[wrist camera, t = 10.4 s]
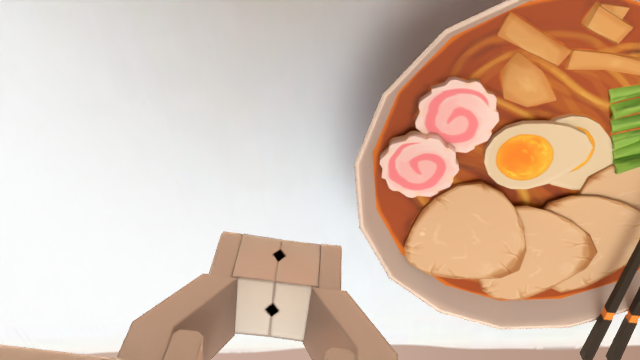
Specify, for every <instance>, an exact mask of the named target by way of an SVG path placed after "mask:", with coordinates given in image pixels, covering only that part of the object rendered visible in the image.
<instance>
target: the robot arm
mask: <svg viewBox="0 0 640 360" xmlns="http://www.w3.org/2000/svg"><path fill="white" fill-rule="evenodd" d="M341 255H342V248H341V246H337V245H328V244H321V245H320V244H314V243H305V242H297V241H289V240H282V239H275V238H268V237H261V236H255V235H248V234H239V233H232V232H225V231H223V233H222V234H221V236H220V240H219V243H218V246H217V249H216V252H215V256H214V259H213V262H212V265H211V268H210V272H209V274H202V275H200V276H199V277H197V278H196V279H194V280H193V281H191V282H190V283H189V284H187V285H186V286H184V287H183V288H181V289H180V290H178V291H177V292H175V293H174V294H172V295H171V296H170V297H168V298H167V299H165V300H164V301H162V302H161V303H159V304H158V305H156V306H155V307H153V308H152V309H151V310H149V311H148V312H146V313H145V314H143V315H142V316H140V317H139V318H137V319H136V320H134V321H133V322H132V324H131V326H130V328H129V331H128V333H127V335H126V338H125V340H124V342H123V344H122V347H121V349H120V351H119V353H118V356H117V358H110V357H101V356H93V355H85V354H76V353H68V352H59V351H51V350H42V349H34V348H25V347H17V346H8V345H0V360H210V359H212V358H213V357H214V356H215V355H216V354H217V353H218V352H219V351H220V350H221V349H222V348H223V346H224V345H225V344H226V343H227V342H228V341H229V340H230V339H231V338H232V337H233V336H234V335H235V334H246V335H257V336H268V337H275V338H282V339H289V340H295V341H302V342H303V344H304V346H305V348H306V350H307V351H308V353H309V355H310V357H311V359H312V360H398V355H397V353H396V352H395V351H394V349H393V348H392V347H391V346H390V344H389V343H388V342H387V341H386V339H385V338H384V337H383V336H382V334H381V333H380V332H379V331H378V330H377V328H376V327H375V326H374V325H373V323H372V322H371V321H370V320H369V318H368V317H367V316H366V315H365V313H364V312H363V311H362V310H361V309H360V307H359V306H358V305H357V304H356V302H355V301H354V300H353V299H352V297H351V296H350V295H349V294H348V292H347V291H341Z"/></svg>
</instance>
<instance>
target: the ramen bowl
mask: <svg viewBox="0 0 640 360" xmlns="http://www.w3.org/2000/svg"><path fill="white" fill-rule="evenodd" d="M354 168H355V180H356V192H357V204H358V216H359V228H360V229H361V231H362V233H363V234H364V236H365V238H366V239H367V241H368V243H369V244H370V246H371V248H372V250H373V251H374V253H375V255H376V256H377V258H378V260H379V261H380V263H381V265H382V266H383V268H384V270H385V272H386V273H387V275H388V277H389V278H390V279H391V280H393V281H394V282H396V283H397V284H399V285H400V286H402V287H403V288H404V289H406V290H407V291H409V292H410V293H412V294H413V295H415V296H416V297H418V298H419V299H420V300H422V301H423V302H425V303H426V304H428V305H429V306H431V307H432V308H434V309H435V310H436V311H438V312H440V313H444V314H447V315H451V316H454V317H458V318H462V319H465V320H469V321H472V322H476V323H480V324H483V325H487V326H490V327H494V328H498V329H530V328H566V327H573V326H576V325H580V324H583V323H587V322H590V321H594V320H597V321H596V323H595V325H594V327H593V329H592V330H591V332H590V334H589V336H588V338H587V340H586V342H585V344H584V346H583V348H582V349H581V351H580V355H581V357H582V359H583V360H592V359H593V357H594V356H595V354H596V352H597V350H598V348H599V346H600V344H601V342H602V340H603V338H604V336H605V334H606V332H607V330H608V328H609V326H610V324H611V322H612V318H613V316H614V315H615V314H618V313H622V312H625V311H628V314H627V315H626V316H625V318H624V320H623V322H622V324H621V326H620V328H619V330H618V332H617V334H616V336H615V338H614V340H613V342H612V344H611V346H610V348H609V350H608V352H607V355H606V357H607V359H608V360H620V359H621V357H622V355H623V353H624V351H625V348H626V346H627V344H628V342H629V340H630V338H631V335H632V333H633V331H634V329H635V327H636V325H637V321H638V318H639V317H640V0H507V1H504V2H502V3H500V4H498V5H496V6H494V7H492V8H489V9H487V10H485V11H483V12H481V13H479V14H477V15H474V16H472V17H470V18H468V19H466V20H464V21H462V22H460V23H457V24H455V25H453V26H451V27H449V28H447V29H445V30H444V31H443V32H442V33H441V34H440V35H439V36H438V37H437V38H436V39H435V40H434V41H433V42H432V43H431V44H430V45H429V46H428V47H427V48H426V49H425V50H424V51H423V52H422V54H421V55H420V56H419V57H418V58H417V59H416V60H415V61H414V62H413V63H412V64H411V65H410V66H409V67H408V68H407V69H406V70H405V71H404V72H403V73H402V74H401V75H400V76H399V78H398V79H397V80H396V81H395V82H394V83H393V84H392V85H391V86H390V87H389V88H388V89H387V90H386V91H385V92H384V93H383V94H382V97H381V99H380V101H379V104H378V106H377V109H376V111H375V114H374V116H373V119H372V121H371V124H370V126H369V129H368V131H367V134H366V136H365V138H364V141H363V143H362V146H361V148H360V151H359V153H358V156H357V158H356V161H355V163H354Z"/></svg>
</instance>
